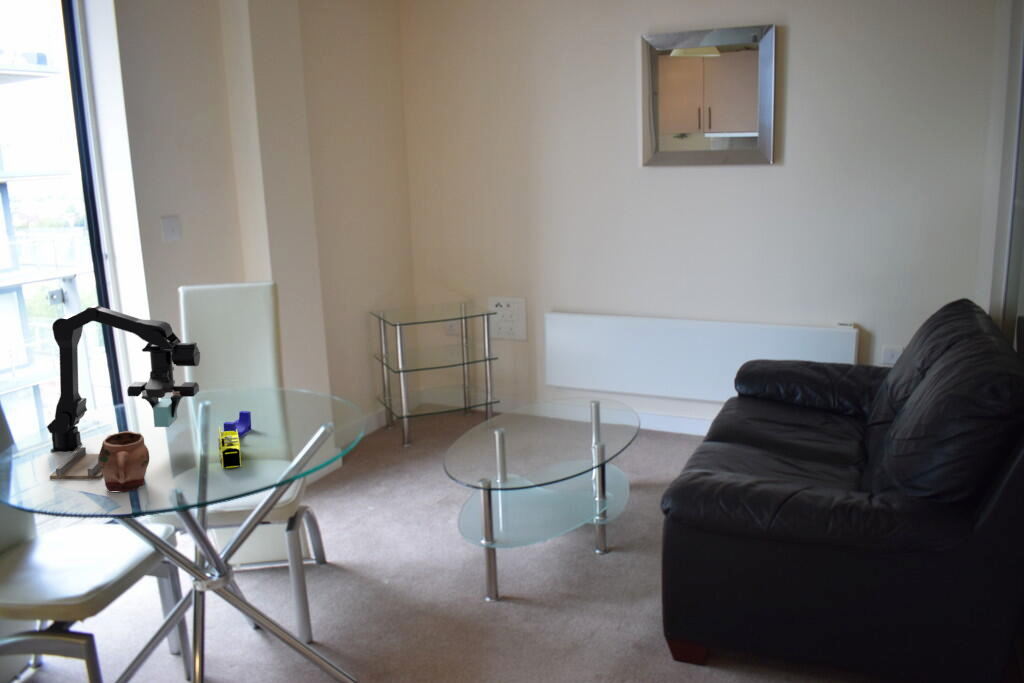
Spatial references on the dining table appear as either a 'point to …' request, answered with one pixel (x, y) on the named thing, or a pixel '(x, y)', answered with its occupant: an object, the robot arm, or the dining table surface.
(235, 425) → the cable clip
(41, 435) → the dining table surface
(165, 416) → the teal rectangular block
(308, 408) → the dining table surface
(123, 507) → the dining table surface
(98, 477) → the rail board
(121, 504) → the dining table surface
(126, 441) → the decorative planter
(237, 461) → the yellow toy chassis
